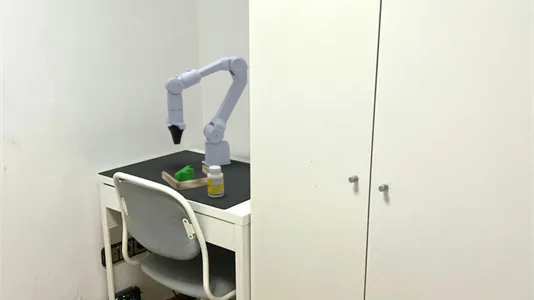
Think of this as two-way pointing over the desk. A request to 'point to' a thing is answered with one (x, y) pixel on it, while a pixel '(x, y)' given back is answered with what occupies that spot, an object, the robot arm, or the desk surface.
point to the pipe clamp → (185, 174)
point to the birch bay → (186, 184)
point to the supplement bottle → (215, 182)
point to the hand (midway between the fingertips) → (177, 144)
